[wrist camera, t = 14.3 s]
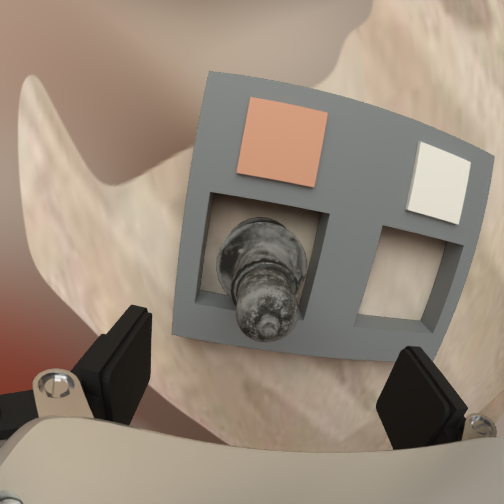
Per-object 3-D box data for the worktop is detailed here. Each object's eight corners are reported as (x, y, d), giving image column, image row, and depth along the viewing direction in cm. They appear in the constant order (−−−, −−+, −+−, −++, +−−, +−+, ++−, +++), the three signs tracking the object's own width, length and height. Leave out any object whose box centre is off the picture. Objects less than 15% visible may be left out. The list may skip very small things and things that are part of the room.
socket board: (421, 348, 27) (434, 364, 24) (178, 319, 25) (170, 337, 23) (477, 155, 21) (497, 156, 19) (213, 80, 20) (208, 69, 18)
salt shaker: (307, 275, 24) (351, 367, 13) (235, 297, 25) (226, 401, 13) (286, 202, 23) (323, 245, 11) (209, 227, 23) (173, 291, 12)
